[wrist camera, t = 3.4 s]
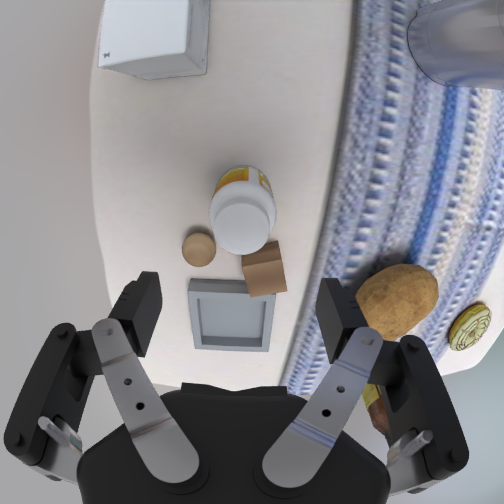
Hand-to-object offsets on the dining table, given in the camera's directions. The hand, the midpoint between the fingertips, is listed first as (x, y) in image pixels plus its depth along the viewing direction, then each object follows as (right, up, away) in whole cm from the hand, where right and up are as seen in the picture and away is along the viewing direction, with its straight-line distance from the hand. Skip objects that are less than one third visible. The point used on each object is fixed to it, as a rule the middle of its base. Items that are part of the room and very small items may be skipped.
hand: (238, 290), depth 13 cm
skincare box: (-6, +23, +6) cm, 25 cm away
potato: (+17, -3, +21) cm, 27 cm away
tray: (-2, -6, +22) cm, 23 cm away
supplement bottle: (0, +8, +14) cm, 17 cm away
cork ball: (-5, +2, +15) cm, 16 cm away
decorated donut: (+42, -12, +26) cm, 51 cm away
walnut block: (+2, +1, +18) cm, 18 cm away
